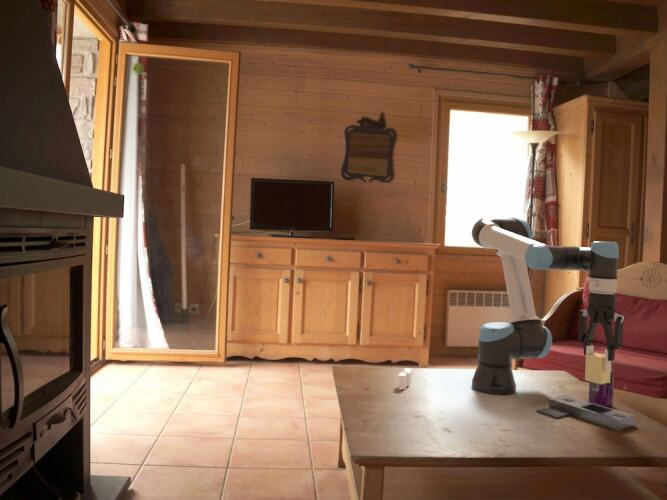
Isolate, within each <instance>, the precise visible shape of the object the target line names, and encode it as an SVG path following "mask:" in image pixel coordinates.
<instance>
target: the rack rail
mask: <svg viewBox="0 0 667 500" xmlns="http://www.w3.org/2000/svg"><path fill="white" fill-rule="evenodd" d="M548 407H553V408H556V409H559V410H562V411H565V412H568V413H571V415H570V416H571V417H574V416H575V418H577V417H578V418H577V419H581V420H584V421H587V422H590V423H593V424H596V425H598V426H599V425H600V426H603V427H606V428H609V429H612V430H615V431H622V430H624V429H627V428H631V427H634V426H635V414H631V413H628V412H625V411H622V410H618V409H614V408H611V407H609V406H608V407H605V406H601V405H598V404H594V403H591V402H589V400H588V401H587V400H583V399H580V398H578V397H573V396H570V395H567V394H565V395H559V396H556V397H555V396H554V397H552V398H548Z"/></svg>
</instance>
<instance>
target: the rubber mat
mask: <svg viewBox="0 0 667 500" xmlns="http://www.w3.org/2000/svg"><path fill="white" fill-rule="evenodd" d="M536 413H539V414H541V415H544V416H547V417H551V418H553V419H556V420H558V419H562V418H565V417H568V416H571V413H568V412H565V411H562V410H559V409H556V408H553V407H549V406H548V407H542V408H539V409H536Z"/></svg>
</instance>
